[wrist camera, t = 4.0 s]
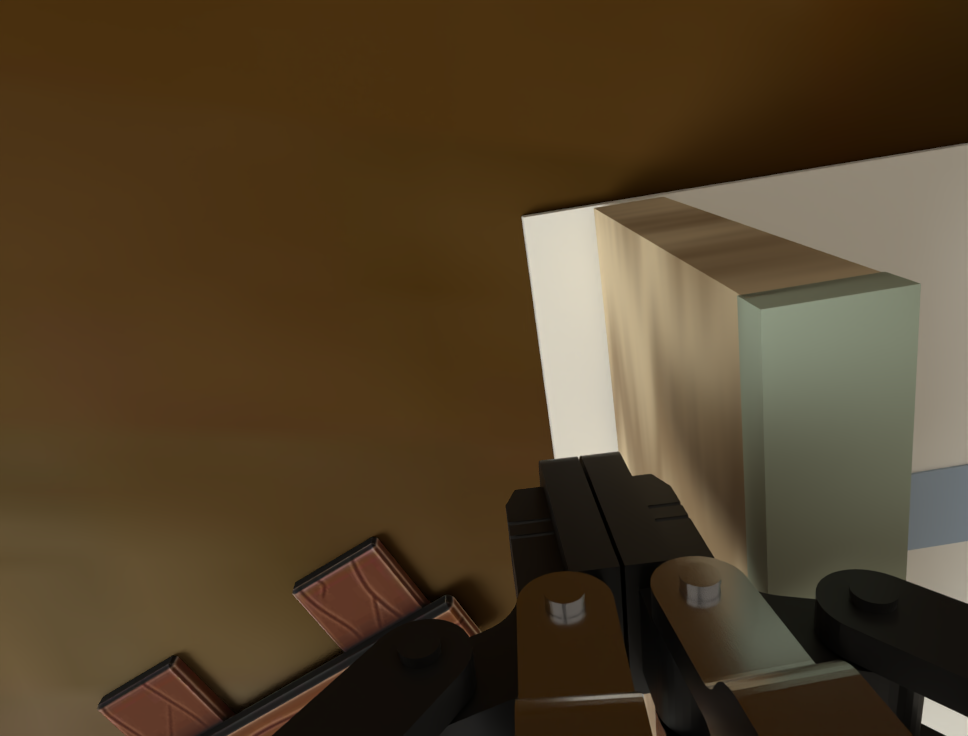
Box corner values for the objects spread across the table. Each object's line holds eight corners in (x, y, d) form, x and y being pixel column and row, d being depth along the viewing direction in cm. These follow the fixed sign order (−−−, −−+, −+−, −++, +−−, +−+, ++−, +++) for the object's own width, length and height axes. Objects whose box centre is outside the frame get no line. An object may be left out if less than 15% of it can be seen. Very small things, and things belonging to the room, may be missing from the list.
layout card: (521, 215, 21) (522, 218, 20) (1026, 133, 21) (1039, 133, 20) (602, 808, 29) (604, 819, 28) (968, 750, 29) (977, 761, 28)
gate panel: (687, 515, 24) (892, 856, 13) (624, 525, 24) (776, 874, 13) (665, 196, 20) (921, 283, 9) (591, 208, 20) (761, 310, 9)
